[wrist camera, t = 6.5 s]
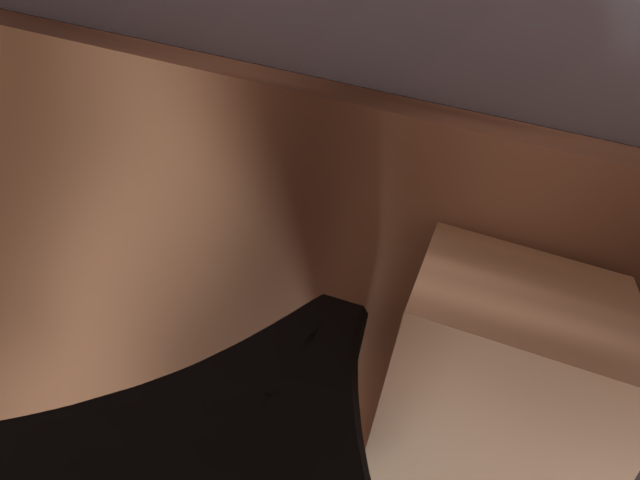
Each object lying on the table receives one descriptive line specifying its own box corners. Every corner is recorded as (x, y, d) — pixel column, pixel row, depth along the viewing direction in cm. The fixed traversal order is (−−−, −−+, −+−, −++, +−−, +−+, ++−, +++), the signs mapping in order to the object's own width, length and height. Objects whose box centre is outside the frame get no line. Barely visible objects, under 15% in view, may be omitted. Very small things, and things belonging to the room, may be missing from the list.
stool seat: (875, 198, 9) (1099, 334, 5) (533, 756, 16) (535, 965, 13) (-98, -13, 13) (-326, -13, 10) (-20, 509, 20) (-132, 617, 17)
